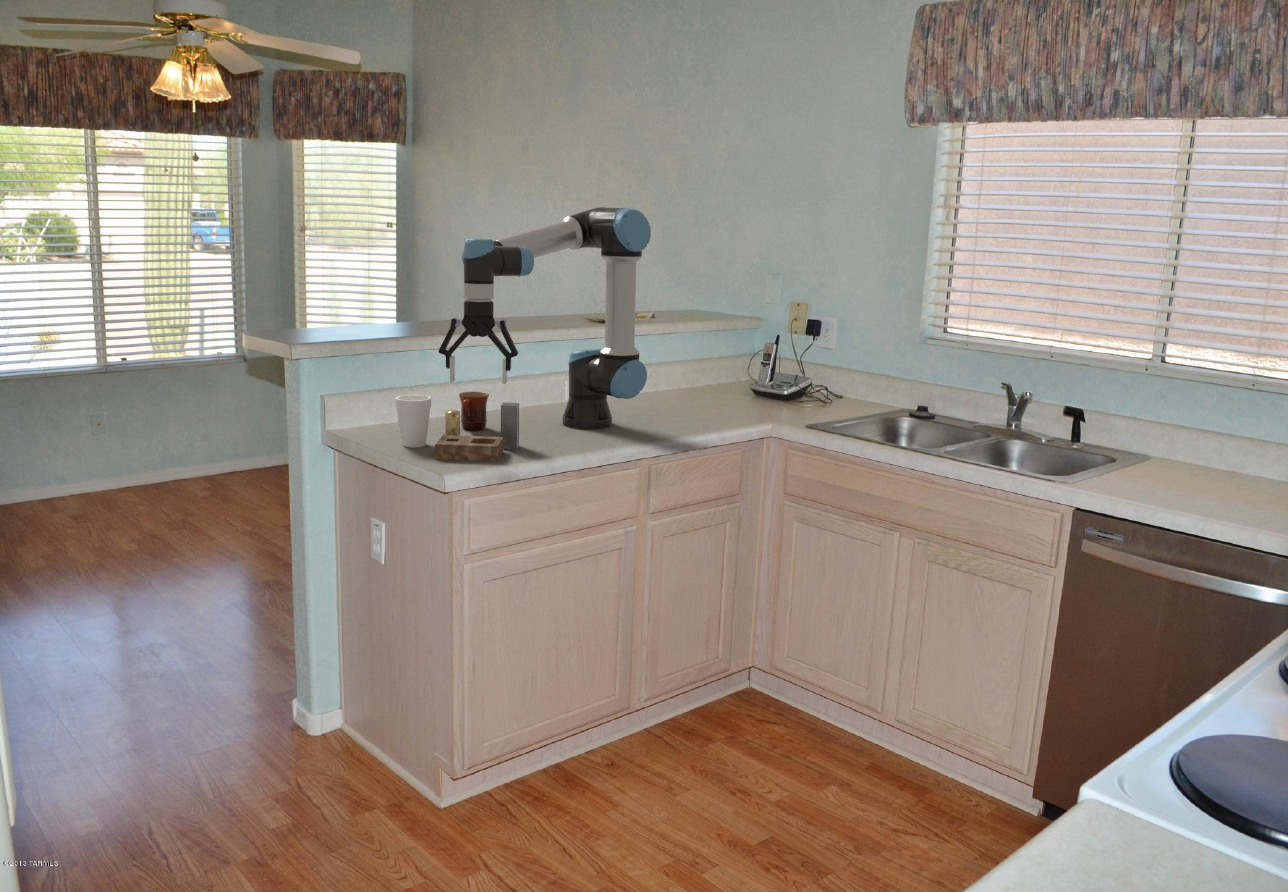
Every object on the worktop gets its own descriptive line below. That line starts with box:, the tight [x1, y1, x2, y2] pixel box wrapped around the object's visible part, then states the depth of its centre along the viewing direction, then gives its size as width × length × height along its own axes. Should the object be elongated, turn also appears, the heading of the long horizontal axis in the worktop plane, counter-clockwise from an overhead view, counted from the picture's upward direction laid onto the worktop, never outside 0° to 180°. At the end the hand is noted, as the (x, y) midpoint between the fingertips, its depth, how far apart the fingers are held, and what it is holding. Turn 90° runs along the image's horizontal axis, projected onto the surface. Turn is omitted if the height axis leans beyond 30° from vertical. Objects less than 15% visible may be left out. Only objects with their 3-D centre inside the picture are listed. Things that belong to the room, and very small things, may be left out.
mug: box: [458, 391, 490, 431], centre depth 302 cm, size 12×9×10 cm
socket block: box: [434, 434, 504, 462], centre depth 272 cm, size 16×11×4 cm
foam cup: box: [394, 394, 432, 448], centre depth 281 cm, size 10×9×13 cm
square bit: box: [500, 402, 520, 450], centre depth 282 cm, size 4×4×12 cm
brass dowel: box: [444, 409, 461, 436], centre depth 284 cm, size 4×4×9 cm
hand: (478, 382), depth 269 cm, fingers open, 13 cm apart
